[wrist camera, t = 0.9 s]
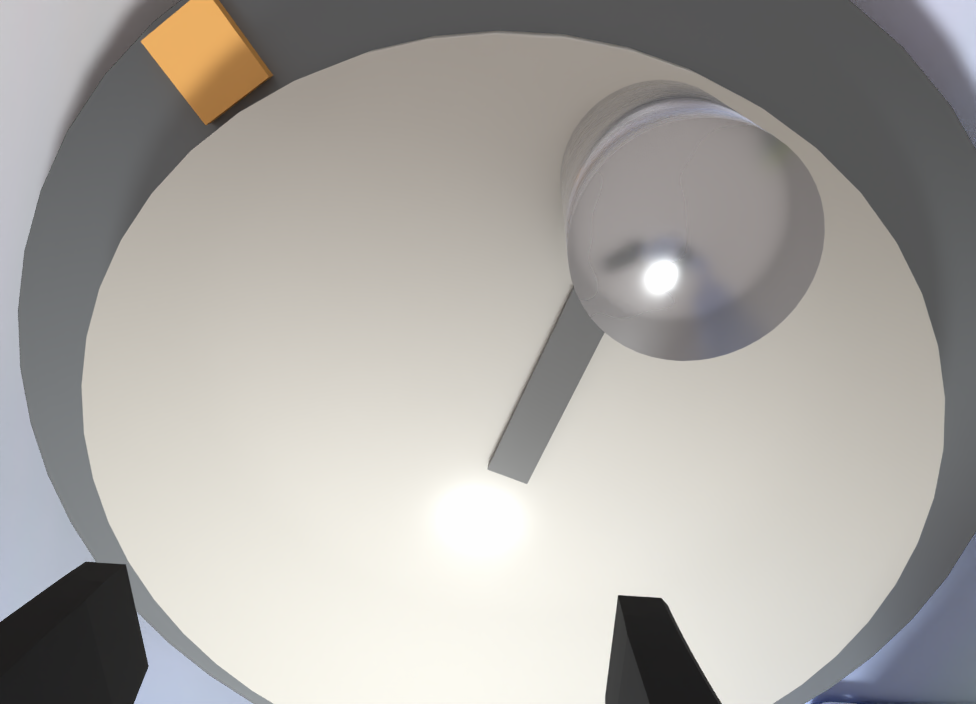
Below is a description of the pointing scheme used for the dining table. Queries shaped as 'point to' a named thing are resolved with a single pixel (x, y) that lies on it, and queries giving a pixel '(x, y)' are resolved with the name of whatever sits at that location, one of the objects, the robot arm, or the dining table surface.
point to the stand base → (522, 8)
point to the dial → (510, 381)
